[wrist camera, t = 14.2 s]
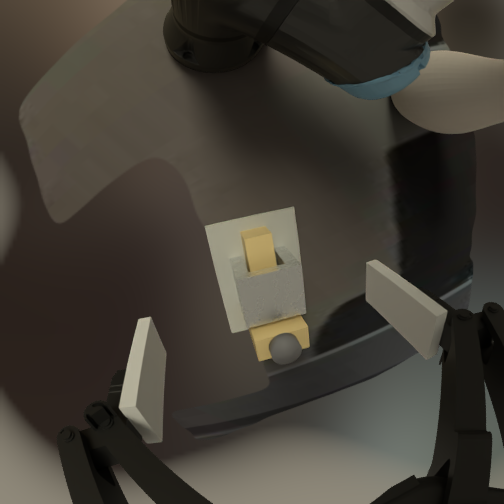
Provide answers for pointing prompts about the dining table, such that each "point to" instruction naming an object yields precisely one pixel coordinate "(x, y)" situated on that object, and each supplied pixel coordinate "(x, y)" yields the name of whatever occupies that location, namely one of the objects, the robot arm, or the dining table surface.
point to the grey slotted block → (270, 289)
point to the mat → (230, 245)
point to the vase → (454, 93)
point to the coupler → (282, 331)
